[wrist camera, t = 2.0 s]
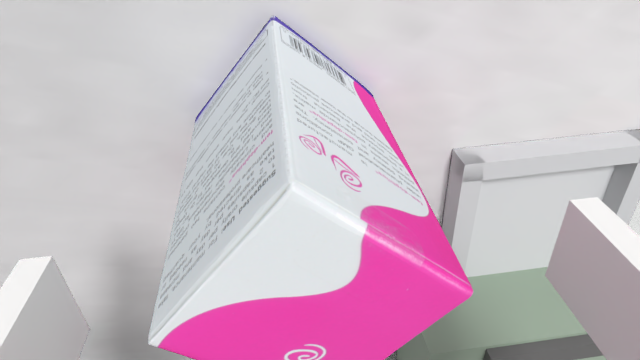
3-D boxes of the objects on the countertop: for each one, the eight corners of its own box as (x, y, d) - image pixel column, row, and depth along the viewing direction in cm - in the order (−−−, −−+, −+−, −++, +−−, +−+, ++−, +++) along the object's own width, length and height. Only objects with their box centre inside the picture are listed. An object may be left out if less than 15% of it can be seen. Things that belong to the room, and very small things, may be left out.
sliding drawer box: (395, 369, 32) (419, 452, 27) (413, 153, 22) (456, 226, 17) (580, 342, 33) (633, 417, 28) (678, 124, 23) (787, 186, 18)
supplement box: (190, 121, 19) (133, 349, 10) (272, 10, 17) (298, 165, 8) (295, 185, 22) (328, 413, 12) (377, 95, 20) (492, 288, 10)
